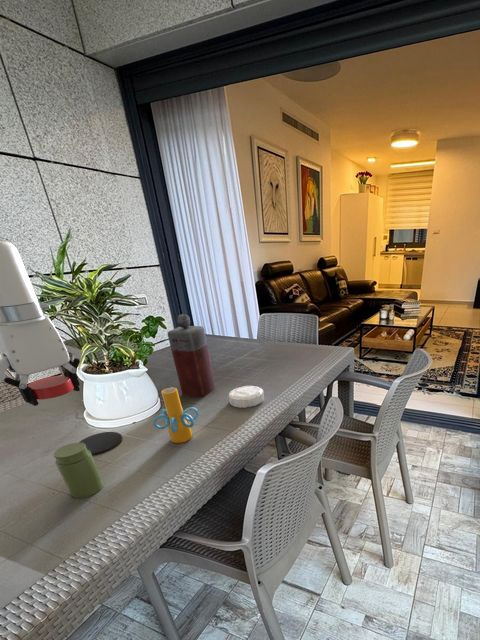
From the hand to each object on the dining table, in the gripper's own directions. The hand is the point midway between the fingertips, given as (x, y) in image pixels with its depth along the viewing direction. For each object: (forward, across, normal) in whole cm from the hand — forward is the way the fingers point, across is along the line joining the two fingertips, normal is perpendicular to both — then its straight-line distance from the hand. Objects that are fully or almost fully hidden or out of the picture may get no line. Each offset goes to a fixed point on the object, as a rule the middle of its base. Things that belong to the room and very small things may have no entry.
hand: (55, 396), depth 76 cm
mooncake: (+22, -52, +4) cm, 57 cm away
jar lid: (-3, 0, 0) cm, 3 cm away
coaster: (+22, -10, -14) cm, 28 cm away
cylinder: (+22, -24, +5) cm, 33 cm away
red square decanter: (+22, -50, -18) cm, 57 cm away
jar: (+22, +3, +4) cm, 22 cm away
